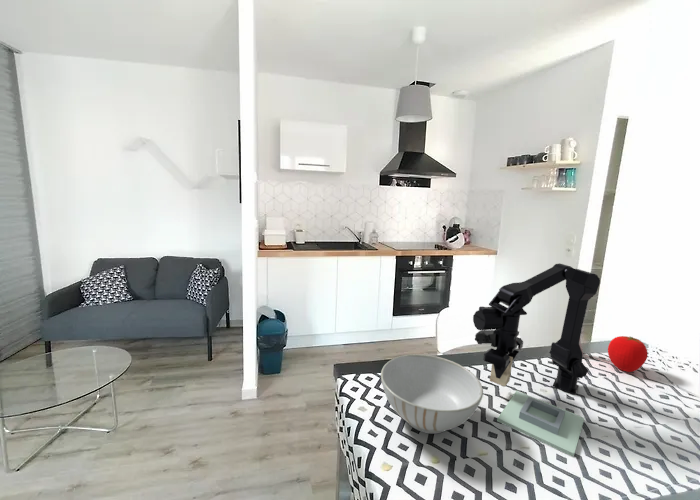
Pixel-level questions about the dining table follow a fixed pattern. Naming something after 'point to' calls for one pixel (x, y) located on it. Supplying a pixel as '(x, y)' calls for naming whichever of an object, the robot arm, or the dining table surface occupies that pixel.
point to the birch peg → (505, 377)
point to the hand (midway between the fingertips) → (500, 374)
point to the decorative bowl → (431, 391)
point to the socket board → (543, 422)
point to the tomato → (627, 353)
